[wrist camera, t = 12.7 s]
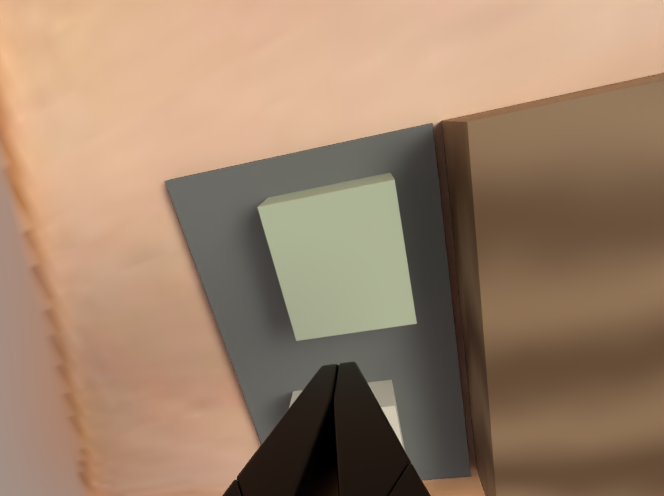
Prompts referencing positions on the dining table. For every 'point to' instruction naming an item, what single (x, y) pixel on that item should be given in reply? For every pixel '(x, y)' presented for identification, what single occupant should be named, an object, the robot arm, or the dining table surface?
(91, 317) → the dining table surface
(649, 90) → the deck
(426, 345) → the mat
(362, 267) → the tile sage
